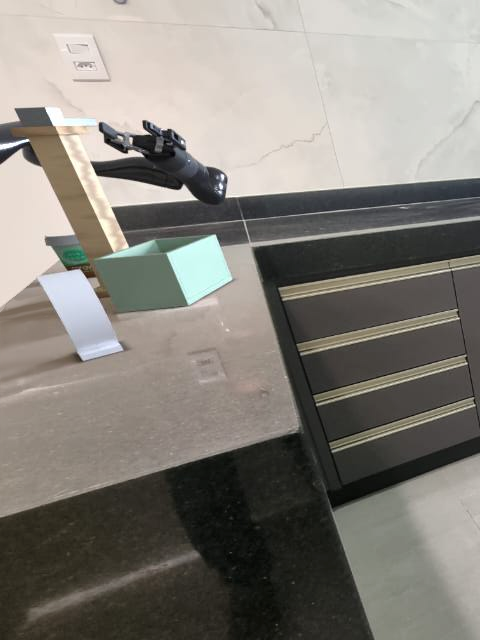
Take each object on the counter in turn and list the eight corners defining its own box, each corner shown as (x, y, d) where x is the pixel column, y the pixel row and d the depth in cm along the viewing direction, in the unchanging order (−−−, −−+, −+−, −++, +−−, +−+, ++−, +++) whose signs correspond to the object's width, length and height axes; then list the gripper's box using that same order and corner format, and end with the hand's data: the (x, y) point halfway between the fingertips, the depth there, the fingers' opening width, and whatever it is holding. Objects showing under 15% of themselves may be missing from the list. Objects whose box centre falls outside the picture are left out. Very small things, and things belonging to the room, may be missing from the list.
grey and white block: (79, 126, 110) (71, 109, 108) (106, 125, 111) (98, 108, 109) (23, 127, 97) (13, 108, 95) (54, 126, 98) (45, 107, 96)
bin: (188, 305, 100) (166, 253, 96) (117, 312, 98) (91, 259, 94) (232, 279, 117) (215, 234, 112) (173, 285, 114) (153, 239, 110)
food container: (55, 283, 121) (32, 239, 117) (64, 277, 126) (42, 235, 121) (125, 273, 127) (105, 231, 122) (131, 268, 131) (112, 227, 127)
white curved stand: (116, 343, 83) (79, 269, 78) (125, 352, 80) (86, 274, 75) (77, 353, 80) (35, 276, 75) (83, 362, 76) (40, 282, 71)
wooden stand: (113, 286, 116) (37, 127, 102) (160, 282, 117) (91, 125, 104) (84, 298, 108) (-3, 128, 94) (135, 293, 109) (57, 125, 96)
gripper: (138, 146, 135) (84, 110, 119) (201, 143, 137) (157, 107, 122) (141, 174, 134) (87, 142, 118) (204, 170, 137) (160, 138, 121)
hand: (122, 124), depth 120 cm, fingers open, 8 cm apart
